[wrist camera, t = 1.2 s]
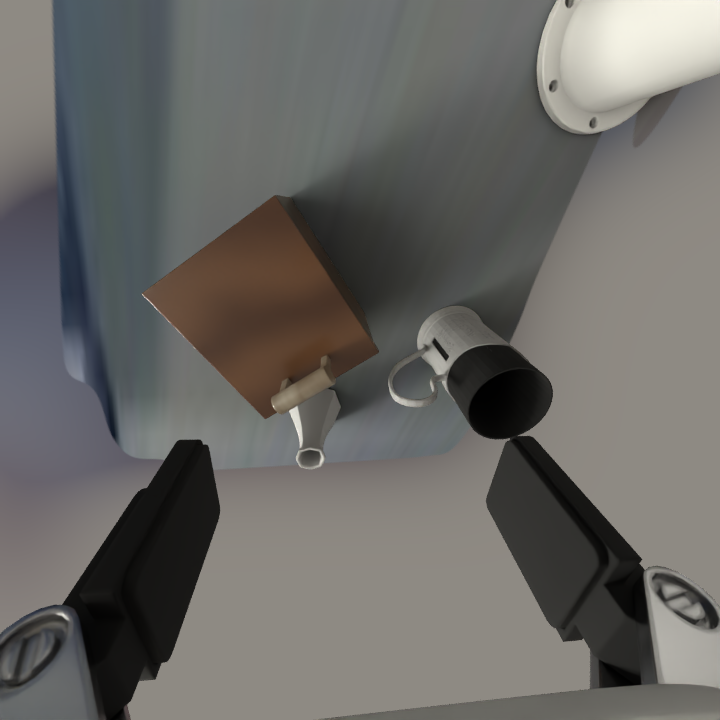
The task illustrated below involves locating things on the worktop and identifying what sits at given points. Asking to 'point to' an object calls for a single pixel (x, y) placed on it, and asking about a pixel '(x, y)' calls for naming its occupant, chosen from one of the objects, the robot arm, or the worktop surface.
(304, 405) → the flask
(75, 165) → the worktop surface
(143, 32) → the worktop surface
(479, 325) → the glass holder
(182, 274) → the lid
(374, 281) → the worktop surface
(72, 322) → the worktop surface
